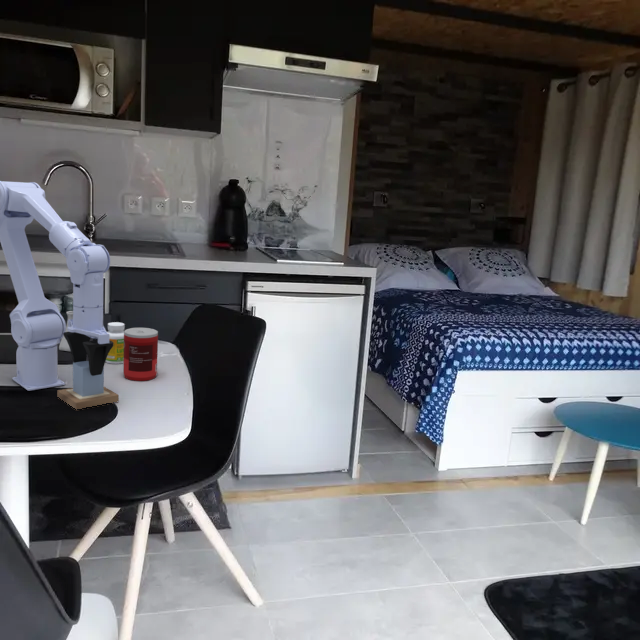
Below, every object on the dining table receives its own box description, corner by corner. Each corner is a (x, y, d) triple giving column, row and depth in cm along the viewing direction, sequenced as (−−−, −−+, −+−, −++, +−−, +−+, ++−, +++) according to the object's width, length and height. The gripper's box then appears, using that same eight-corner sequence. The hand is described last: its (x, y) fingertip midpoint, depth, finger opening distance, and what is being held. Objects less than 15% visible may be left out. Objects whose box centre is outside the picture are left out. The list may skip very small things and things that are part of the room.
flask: (62, 344, 171) (62, 308, 169) (90, 346, 172) (90, 310, 170) (54, 351, 164) (54, 314, 162) (83, 353, 165) (83, 315, 163)
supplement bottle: (117, 365, 157) (118, 327, 155) (99, 362, 159) (100, 324, 157) (131, 360, 162) (131, 323, 160) (113, 357, 164) (114, 320, 162)
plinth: (57, 397, 132) (57, 389, 131) (98, 390, 138) (98, 382, 138) (76, 410, 126) (76, 401, 125) (118, 402, 132) (118, 394, 132)
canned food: (143, 369, 155) (144, 325, 153) (163, 377, 150) (165, 332, 148) (116, 375, 149) (116, 329, 147) (136, 383, 145) (137, 336, 142)
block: (72, 390, 131) (72, 362, 130) (93, 387, 135) (93, 359, 133) (82, 396, 128) (82, 368, 127) (103, 392, 132) (103, 365, 130)
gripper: (53, 299, 130) (53, 363, 133) (85, 314, 120) (84, 382, 123) (86, 297, 135) (86, 359, 138) (119, 311, 125) (118, 376, 128)
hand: (87, 369), depth 131 cm, fingers open, 7 cm apart
